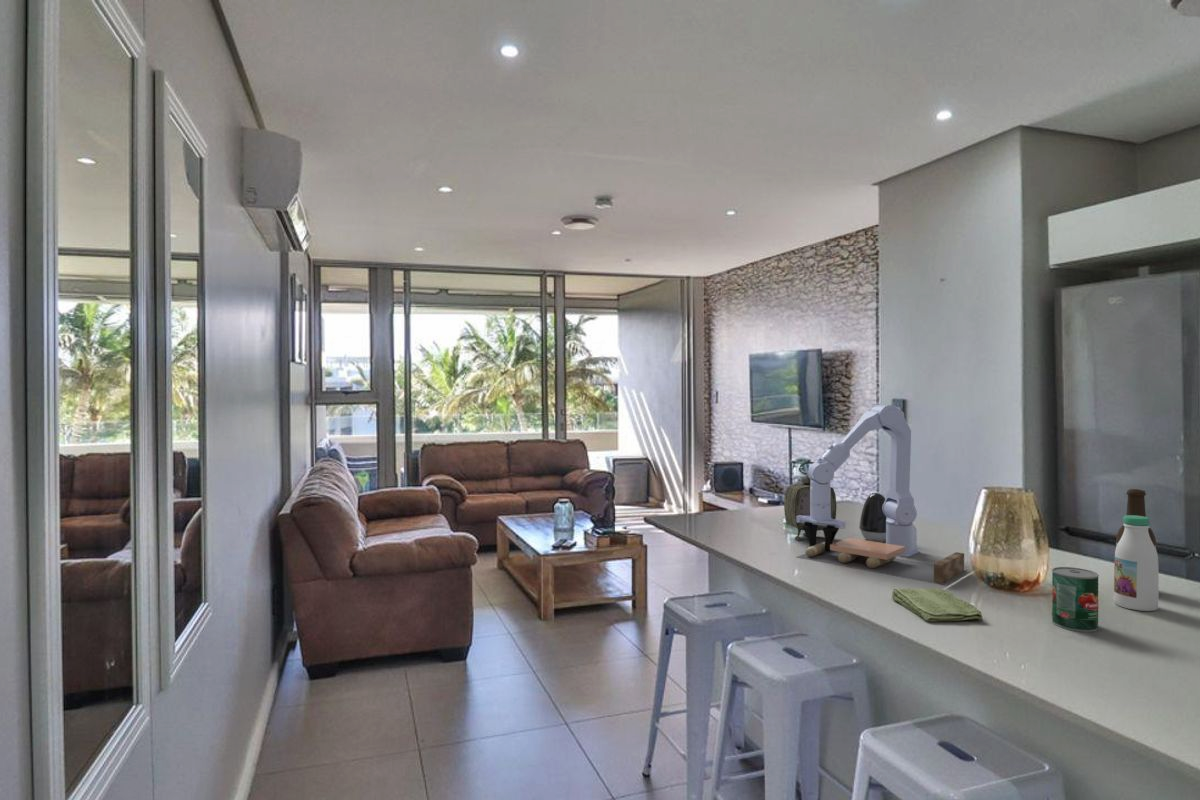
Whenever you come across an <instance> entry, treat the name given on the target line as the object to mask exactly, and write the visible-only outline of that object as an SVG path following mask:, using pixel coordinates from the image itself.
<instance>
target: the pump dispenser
mask: <svg viewBox="0 0 1200 800" xmlns="http://www.w3.org/2000/svg"><path fill="white" fill-rule="evenodd" d="M885 499H886V496H884V495H883V494H881V493H880V492H874V493H873V492H870V493H869V495H868V496H867V497H866V500H865V501H864V504H863V506H862V509H861V514H860V519H859V526H858V527H859V530H860V533H861V535H862V537H863V538H864V540H867V541H874V542H880V543H886V516H885V515H884V513H883V511H882V506H883V504H884V502H885Z"/></svg>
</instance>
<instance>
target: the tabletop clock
mask: <svg viewBox="0 0 1200 800" xmlns="http://www.w3.org/2000/svg"><path fill="white" fill-rule="evenodd" d="M813 463H815V461H805V462H803V463H801V464H800V465H799V467H798V471H799V473H801V475H805V476H803V477H802V478H801V480H800V482H798V483H791V484H790V485H788V486H786V489H785V492H784V500H783V501H784V502H783V507H784V508H783V509H784V517H785V522H786V524H787V525H788V526H790V527H794V528H796V529H797V535H796V536H795V537H794V539H795V541H801V536H800V535H801V532H802V531H804V529H803V525H804V524H805V523H802V522H800V523H798V522H797V520H796V516H798V515H803V516H810V478H809V477H808V475H807V472H803V471H802V470H801V468H802V467H803V466H804V465H809V464H813ZM830 488H831V518H832V519H836V518H837V498H836V497H837V496H836V491H835V489H834V487H832V486H830ZM836 520H837V519H836ZM825 527H827V526H822V525H818V528H817V532H819V531H823V528H825ZM802 536H803V537H805V538H808V537H807V535H806V533H805V532H803V534H802Z"/></svg>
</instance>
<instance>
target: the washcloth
mask: <svg viewBox="0 0 1200 800" xmlns="http://www.w3.org/2000/svg"><path fill="white" fill-rule="evenodd" d="M891 594H892V596H891V598H892V599H893V601H894V602H896V603H898V604H899V605H900V606H902V607H904V608H905V609H907V610H909V611H910V612H912V613H913V614H915V615H917V616H918V617H921V619H923V620H924V621H926V622H927V623H935V622H938V623H939V622H957V621H972V620H973V621H981V620H983V614H982V612H981V610H979V609H978V608H977V607H976V606H975V605H973V604H971V603H969V602H968V601H966V600H963V599H961V598H958V597H957V596H955V594H953V593H951V592H949V591H947V590H946V589H941V588H910V587H909V588H907V587H906V588H905V587H904V588H903V587H902V588H900V587H897V588H896V587H895V588H894V589H893V590H892V593H891Z"/></svg>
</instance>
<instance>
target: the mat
mask: <svg viewBox="0 0 1200 800" xmlns="http://www.w3.org/2000/svg"><path fill="white" fill-rule="evenodd" d="M840 553H841V552H839V551H833V550H831V551H829V552H824V553H822V554H819V555H816V556H813V557H808V556H807V555H806V553H804V554H801V555H798V556H796V558H798V559H802V560H809V561H813V562H818V563H824V564H831V565H834V566H840V567H844V568H845V567H846V568H852V569H855V570H862V571H867V572H872V573H877V574H881V575H882V574H883V575H888V576H893V577H899V578H903V579H904V578H905V579H909V580H914V581H920V582H925V583H926V582H927V583H931V584H935V585H942V586H944V585H946V584H947V583H950V581H952V580H954V579H956V578H957V577H959V576H961V575H963V574H964V573H966V572H968V570H967V569H964V571H963V572H961V573H960V574H958V575H956V576H954V577H953V578H951V579H949V580H948V581H946V582H944V583H937V582H934V563H933V564H932V563H927V562H921V561H914V560H907V559H902V558H897V557H896V558H895V559H894V560H892V561H890V562H887V563H885V564H883V565H881V566H879V567H876V568H873V569H872V568H869V567H868V566H867V564H866V561H867V559H868V558H870V557H868V556H862V557H859V558H857V559H855V560H852V561H850V562H847V563H841V562H840V561H839V560H838V555H839V554H840Z"/></svg>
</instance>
